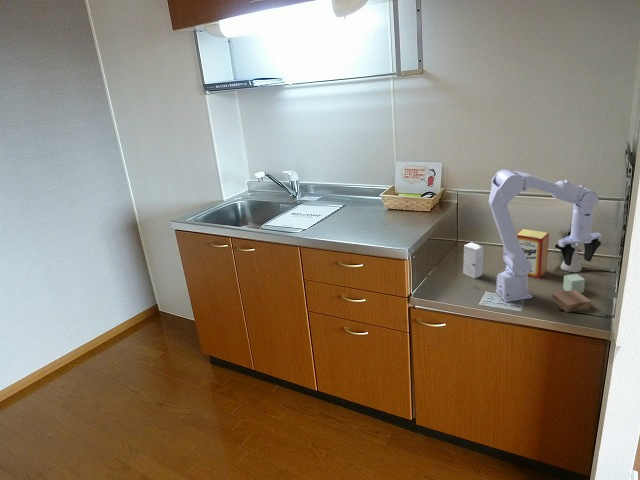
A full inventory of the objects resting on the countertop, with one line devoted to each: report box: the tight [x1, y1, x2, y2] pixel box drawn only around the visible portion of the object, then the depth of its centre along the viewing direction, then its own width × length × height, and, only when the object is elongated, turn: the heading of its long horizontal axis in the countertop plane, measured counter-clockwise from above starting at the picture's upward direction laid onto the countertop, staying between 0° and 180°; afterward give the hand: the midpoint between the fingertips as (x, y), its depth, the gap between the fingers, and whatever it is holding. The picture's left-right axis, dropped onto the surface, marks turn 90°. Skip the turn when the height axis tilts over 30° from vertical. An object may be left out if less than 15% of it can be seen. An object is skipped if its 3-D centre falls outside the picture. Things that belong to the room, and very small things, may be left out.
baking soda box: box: [516, 228, 550, 279], centre depth 170 cm, size 10×6×16 cm
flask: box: [560, 243, 583, 273], centre depth 171 cm, size 7×7×10 cm
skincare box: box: [462, 242, 484, 279], centre depth 175 cm, size 6×4×12 cm
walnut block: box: [551, 290, 592, 313], centre depth 150 cm, size 8×8×3 cm
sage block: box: [562, 273, 586, 294], centre depth 157 cm, size 4×4×5 cm
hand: (577, 262), depth 155 cm, fingers open, 7 cm apart
